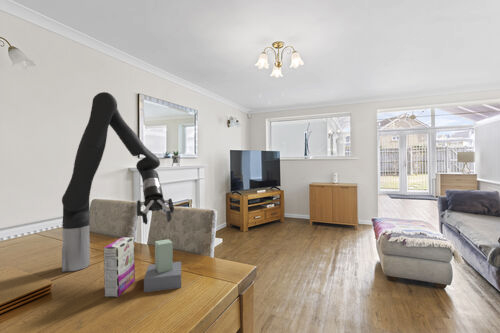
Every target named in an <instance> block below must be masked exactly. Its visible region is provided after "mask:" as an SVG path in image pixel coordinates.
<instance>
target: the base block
mask: <svg viewBox="0 0 500 333" xmlns="http://www.w3.org/2000/svg"><path fill="white" fill-rule="evenodd" d="M173 289H182V261H173V270H170V271H166V272H161V273H158V272H157V270H156V269H155V263H154V264H153V263H152V264H148V266H147V269H146V272H145V275H144V278H143V293H151V292H157V291H158V292H159V291H166V290H173Z"/></svg>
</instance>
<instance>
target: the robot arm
mask: <svg viewBox="0 0 500 333" xmlns="http://www.w3.org/2000/svg"><path fill="white" fill-rule="evenodd" d="M109 126H110V127H111V128H112V130H113V131H114V132H115V133H116V135H117V136H118V138H119V140H120V141H121V142H122V143H123V145H124V147H125V148H126V149H127V151H128V152H129V154H130V155H131V156H132V157H137V156H140V155H142V156H143V158H141V159H140V160H138V161H137V162H136V170H137V171H138V173H139V174H140V177H141V180H142V192H143V200H144V201H141V200H137V201H136V216H137V217H141V218H142V223H143V224H144V225H148V214H149V212H150V211H151V212H155V211H156V212H157V211H161V212H162V213H164V214H165V216H166V222H167V223H169V222H170V221H171V220H172V215H171V214H173V213H174V210H175V206H174V202H173V200H172V198H168V199H164V194H163V190H162V184H161V182H160V177H159V173H158V171H157V170H156V169H157V168H158V167H160V165H161V162H160V161H161V160H160V159H159V157H158V156H156V154H154V153H153V152H152V151H151V150H149V149H148V148H147V147H146V145H145V144H144V143H143V142H142V140H141V139H140V137H139V136H138V135H137V133H136V132H135V131H134V130H133V129H132V128H131V127H130V126H129V124H128V123H127V122H126V121H125V120H124V118H123V117H122V115H121V113H120V112H119V109H118V102H117V99H116V98H115V96H114V95H112V94H111V93H109V92H105V91H104V92H98V93H97V94H96V95H94V97H93V99H92V102H91V110H90V114H89V119H88V122H87V124H86V127H85V129H84V131H83V134H82V136H81V139H80V142H79V144H78V148H77V151H76V154H75V159H74V162H73V170H72V175H71V177H70V181H69V183H68V185H67V187H66V190H65V191H64V193H63V195H62V197H61V203H62V204H61V205H62V221H61V222H62V225H61V226H62V247H61V272H62V273H64V272H76V271H79V270H83V269H85V268H87V267H89V266H90V258H91V256H90V255H91V254H90V248H91V247H90V245H91V244H90V243H91V242H90V196H91V189H92V183H93V180H94V178H95V176H96V174H97V172H98V169H99V166H100V164H101V161H102V159H103V155H104V152H105V149H106V144H107V138H108V131H109V130H108V129H109ZM143 206H144V207H145V208H144V210H142V207H143Z"/></svg>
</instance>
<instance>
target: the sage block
mask: <svg viewBox="0 0 500 333" xmlns="http://www.w3.org/2000/svg"><path fill="white" fill-rule="evenodd" d="M173 246H174V244H173V241H171V239H169V238H168V239H161V240H155V241H154V264H155V269H156V270H157V272H158V273H161V272H166V271H170V270H173V262H174V261H173V259H174V258H173V257H174V255H173V254H174V253H173V252H174V251H173V250H174V248H173Z"/></svg>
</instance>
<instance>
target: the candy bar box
mask: <svg viewBox="0 0 500 333" xmlns="http://www.w3.org/2000/svg"><path fill="white" fill-rule="evenodd" d="M135 264H136V263H135V237H134V236H133V237H131V236H130V237H129V236H127V237H126V236H123V237H120V238H119V239H116V240H115V241H113V242H112V243H110V244H107V245H106V246H105V247H103V271H104V272H103V276H104V297H107V298H113V297H114V298H116V297H117V298H118V297H119V298H120V296H121V295H123V293H124V292H125V291H126V290H127V289H128V288H129V287H130V286H132V285H133V283H134V282H136V278H135V275H136V274H135V272H136V271H135V270H136V269H135Z"/></svg>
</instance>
